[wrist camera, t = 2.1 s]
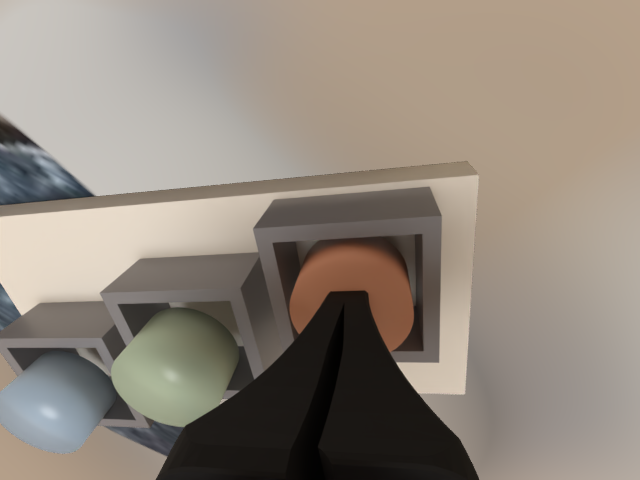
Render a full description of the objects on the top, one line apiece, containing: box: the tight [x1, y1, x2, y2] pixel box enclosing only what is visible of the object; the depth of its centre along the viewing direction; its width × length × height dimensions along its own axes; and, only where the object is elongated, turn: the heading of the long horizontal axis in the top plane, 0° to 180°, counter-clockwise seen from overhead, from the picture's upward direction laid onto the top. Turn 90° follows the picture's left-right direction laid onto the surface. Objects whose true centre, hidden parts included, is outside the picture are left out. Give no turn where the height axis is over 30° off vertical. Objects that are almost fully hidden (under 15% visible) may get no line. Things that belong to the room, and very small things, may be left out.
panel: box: [0, 161, 479, 428], centre depth 18 cm, size 12×25×5 cm, turn 98°
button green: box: [111, 307, 239, 427], centre depth 15 cm, size 4×4×2 cm
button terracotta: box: [289, 236, 414, 352], centre depth 13 cm, size 4×4×2 cm
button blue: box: [0, 351, 117, 454], centre depth 17 cm, size 4×4×2 cm
